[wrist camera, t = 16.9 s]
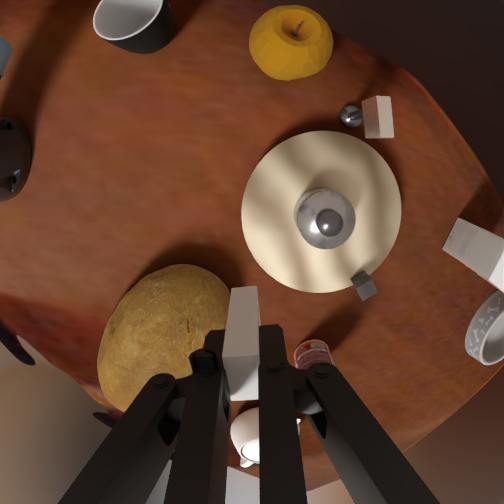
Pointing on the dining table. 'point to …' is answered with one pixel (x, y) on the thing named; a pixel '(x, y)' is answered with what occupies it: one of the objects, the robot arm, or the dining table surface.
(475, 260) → the small box
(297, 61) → the apple
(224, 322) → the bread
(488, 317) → the dog bowl
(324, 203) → the cover
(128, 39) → the mug
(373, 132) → the silver rod with block
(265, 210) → the platter
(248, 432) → the teapot
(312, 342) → the pill bottle
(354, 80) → the dining table surface
